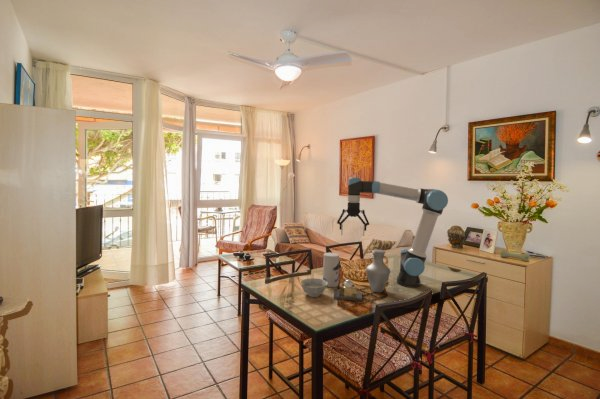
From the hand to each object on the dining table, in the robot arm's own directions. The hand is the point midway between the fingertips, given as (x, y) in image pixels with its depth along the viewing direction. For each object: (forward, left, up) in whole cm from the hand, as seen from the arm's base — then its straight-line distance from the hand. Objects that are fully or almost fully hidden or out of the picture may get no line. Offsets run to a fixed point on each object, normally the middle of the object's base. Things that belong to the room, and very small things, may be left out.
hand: (352, 235), depth 209 cm
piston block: (+2, +19, -33) cm, 38 cm away
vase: (-16, +6, -33) cm, 37 cm away
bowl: (+22, +21, -33) cm, 45 cm away
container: (+13, +1, -33) cm, 35 cm away
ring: (+2, +19, -31) cm, 37 cm away
